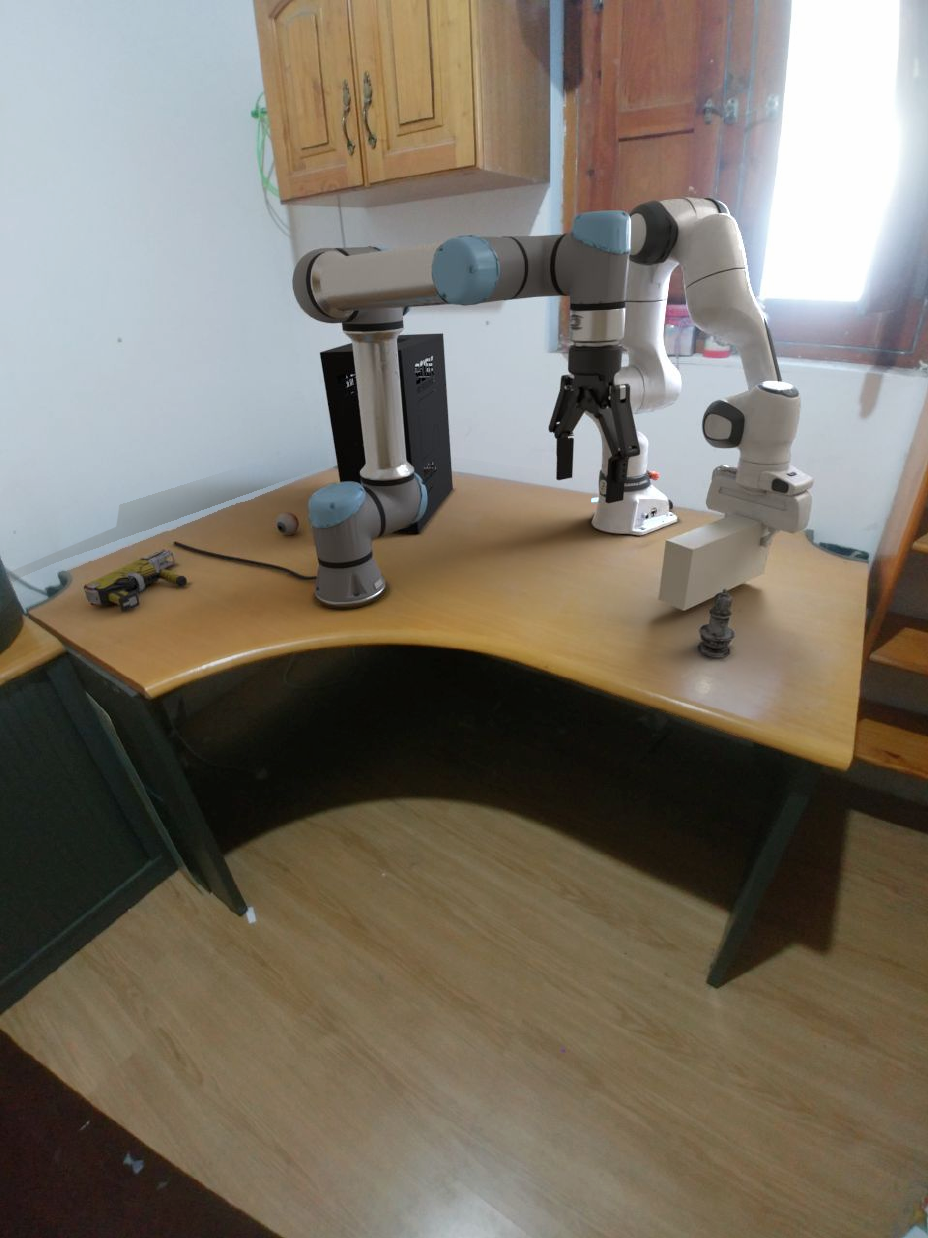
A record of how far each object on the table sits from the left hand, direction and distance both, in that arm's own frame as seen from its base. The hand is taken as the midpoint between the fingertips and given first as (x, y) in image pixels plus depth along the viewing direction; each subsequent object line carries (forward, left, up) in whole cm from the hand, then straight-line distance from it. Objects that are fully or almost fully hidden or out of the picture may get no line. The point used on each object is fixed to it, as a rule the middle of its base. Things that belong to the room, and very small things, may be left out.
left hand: (587, 489), depth 96 cm
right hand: (+26, +33, -19) cm, 46 cm away
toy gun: (-99, -8, -29) cm, 103 cm away
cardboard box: (-67, +56, -29) cm, 92 cm away
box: (+21, +26, -26) cm, 42 cm away
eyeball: (-88, +29, -29) cm, 97 cm away
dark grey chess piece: (+23, +6, -29) cm, 37 cm away
